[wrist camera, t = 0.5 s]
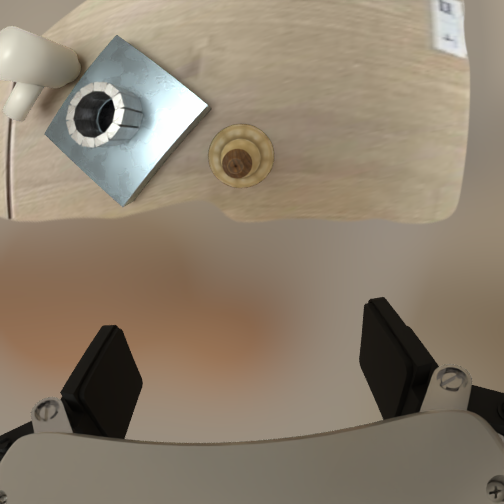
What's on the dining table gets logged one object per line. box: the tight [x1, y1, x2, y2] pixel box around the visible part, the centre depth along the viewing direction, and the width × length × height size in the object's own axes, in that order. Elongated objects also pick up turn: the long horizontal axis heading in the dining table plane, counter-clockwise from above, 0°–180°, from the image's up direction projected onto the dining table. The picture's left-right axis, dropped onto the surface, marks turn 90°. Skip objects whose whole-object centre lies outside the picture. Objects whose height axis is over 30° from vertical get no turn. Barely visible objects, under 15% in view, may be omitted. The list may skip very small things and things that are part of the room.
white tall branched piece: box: [0, 26, 81, 121], centre depth 25 cm, size 11×6×16 cm, turn 137°
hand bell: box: [208, 124, 274, 188], centre depth 30 cm, size 8×8×16 cm
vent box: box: [45, 35, 211, 207], centre depth 31 cm, size 16×16×10 cm
